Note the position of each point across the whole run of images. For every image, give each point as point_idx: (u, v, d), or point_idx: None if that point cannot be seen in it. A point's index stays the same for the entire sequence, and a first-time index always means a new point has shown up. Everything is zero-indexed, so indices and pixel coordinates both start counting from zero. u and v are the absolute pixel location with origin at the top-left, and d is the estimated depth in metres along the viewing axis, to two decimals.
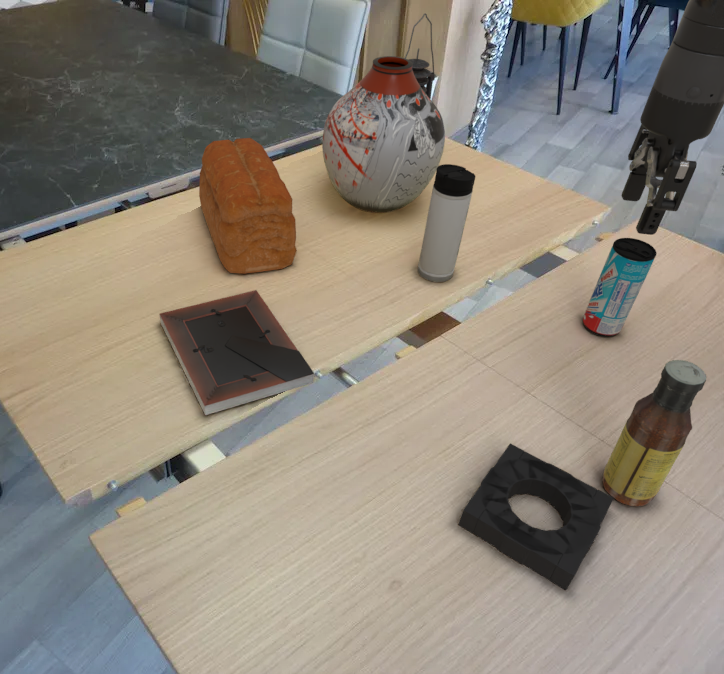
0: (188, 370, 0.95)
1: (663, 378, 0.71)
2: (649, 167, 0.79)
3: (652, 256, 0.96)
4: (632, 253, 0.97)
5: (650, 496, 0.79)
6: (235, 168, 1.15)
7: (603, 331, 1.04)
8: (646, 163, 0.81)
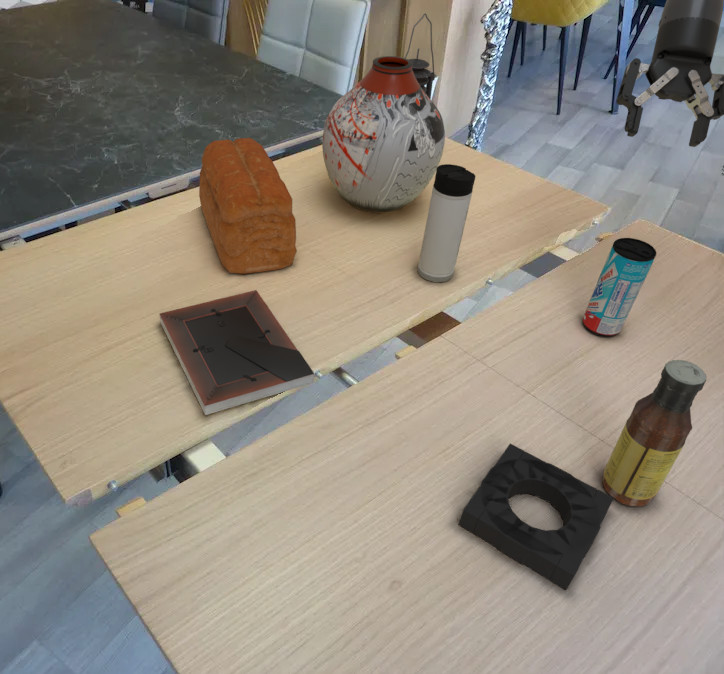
0: (188, 370, 0.95)
1: (663, 378, 0.71)
2: None
3: (652, 256, 0.96)
4: (632, 253, 0.97)
5: (650, 496, 0.79)
6: (235, 168, 1.15)
7: (603, 331, 1.04)
8: None
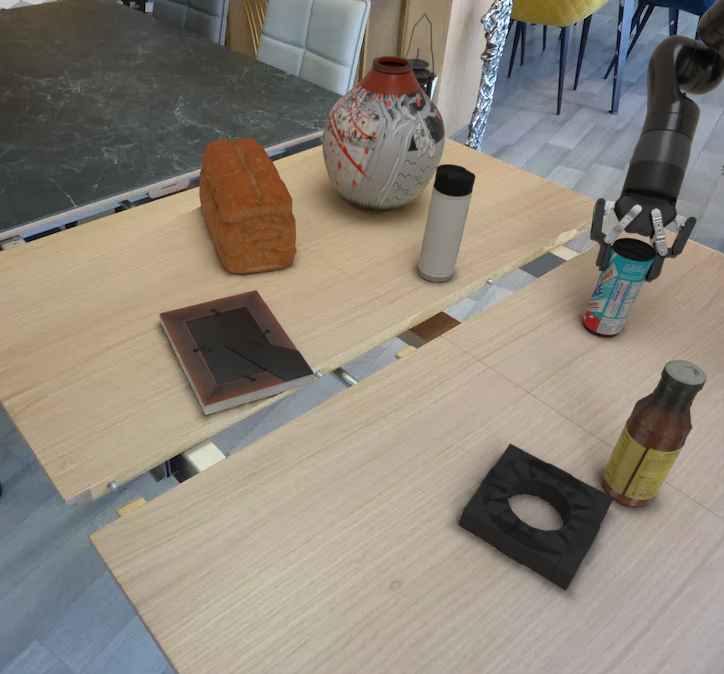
0: (188, 370, 0.95)
1: (663, 378, 0.71)
2: None
3: (652, 256, 0.96)
4: (632, 253, 0.97)
5: (650, 496, 0.79)
6: (235, 168, 1.15)
7: (603, 331, 1.04)
8: None
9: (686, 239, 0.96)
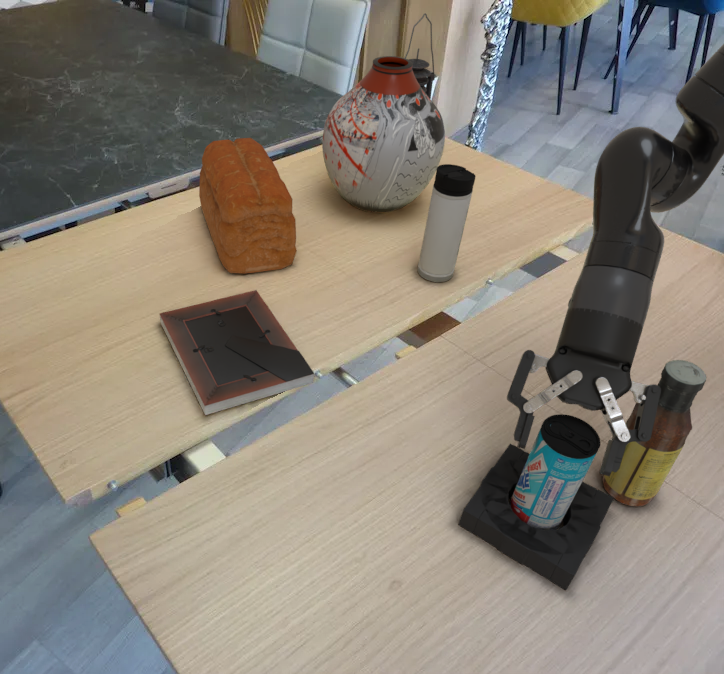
0: (188, 370, 0.95)
1: (663, 378, 0.71)
2: None
3: (594, 449, 0.69)
4: (567, 443, 0.69)
5: (650, 496, 0.79)
6: (235, 168, 1.15)
7: None
8: None
9: (653, 418, 0.68)
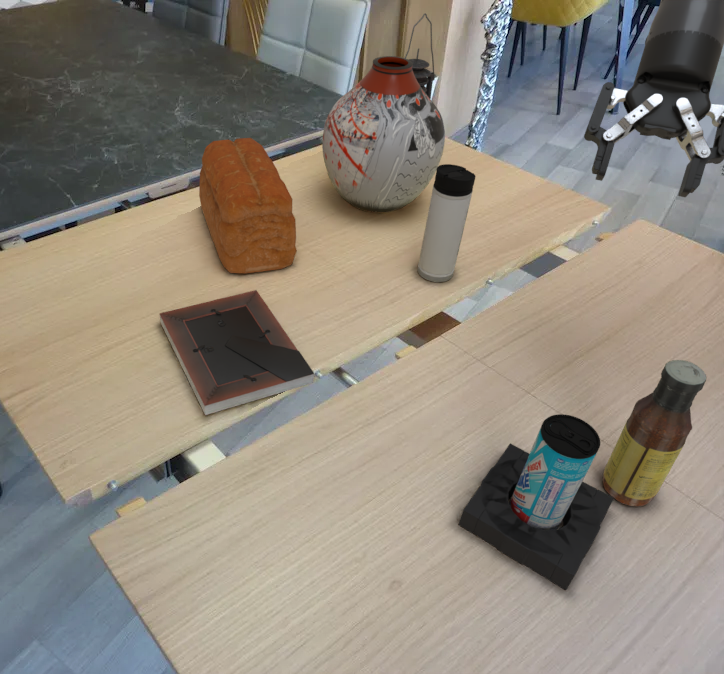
0: (188, 370, 0.95)
1: (663, 378, 0.71)
2: None
3: (594, 449, 0.69)
4: (567, 443, 0.69)
5: (650, 496, 0.79)
6: (235, 168, 1.15)
7: None
8: None
9: None
